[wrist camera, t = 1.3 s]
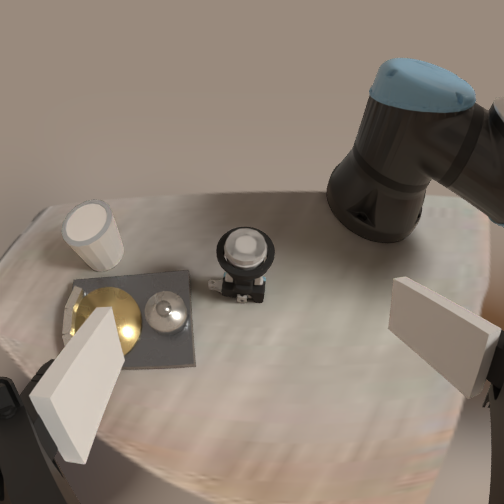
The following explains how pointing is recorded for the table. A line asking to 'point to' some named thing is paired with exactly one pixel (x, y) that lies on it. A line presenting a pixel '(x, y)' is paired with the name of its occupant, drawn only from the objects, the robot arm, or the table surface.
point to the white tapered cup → (94, 234)
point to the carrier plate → (140, 316)
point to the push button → (244, 263)
